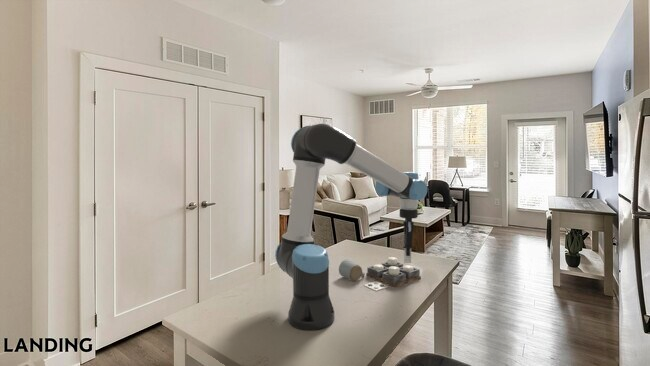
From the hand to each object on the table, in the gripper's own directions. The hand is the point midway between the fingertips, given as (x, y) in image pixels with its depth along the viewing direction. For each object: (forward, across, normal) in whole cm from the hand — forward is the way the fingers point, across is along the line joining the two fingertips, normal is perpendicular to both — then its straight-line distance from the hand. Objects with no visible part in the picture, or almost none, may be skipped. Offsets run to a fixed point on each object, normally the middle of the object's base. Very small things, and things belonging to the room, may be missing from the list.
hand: (407, 262), depth 144 cm
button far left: (+4, +7, +6) cm, 10 cm away
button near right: (+4, -6, +6) cm, 10 cm away
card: (+7, -11, +13) cm, 19 cm away
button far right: (+6, 0, 0) cm, 6 cm away
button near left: (+6, 0, +12) cm, 14 cm away
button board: (+7, 0, +6) cm, 9 cm away
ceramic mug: (+8, -2, +23) cm, 25 cm away
